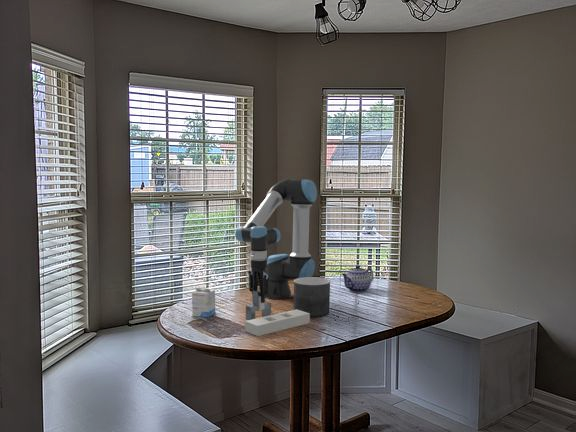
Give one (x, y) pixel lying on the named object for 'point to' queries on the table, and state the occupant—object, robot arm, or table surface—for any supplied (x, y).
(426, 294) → the table surface
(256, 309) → the clip
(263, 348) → the table surface
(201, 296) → the ink box
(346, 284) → the teapot
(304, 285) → the dark gray cylinder
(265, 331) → the rail
